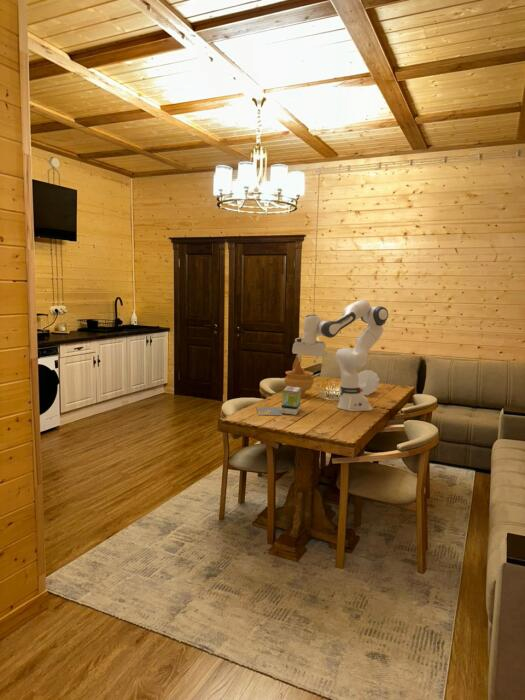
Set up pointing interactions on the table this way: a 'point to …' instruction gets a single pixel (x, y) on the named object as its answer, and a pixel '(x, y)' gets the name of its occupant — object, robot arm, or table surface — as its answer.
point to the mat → (275, 411)
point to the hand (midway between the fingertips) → (307, 362)
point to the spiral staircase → (368, 381)
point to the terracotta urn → (299, 377)
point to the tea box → (291, 400)
